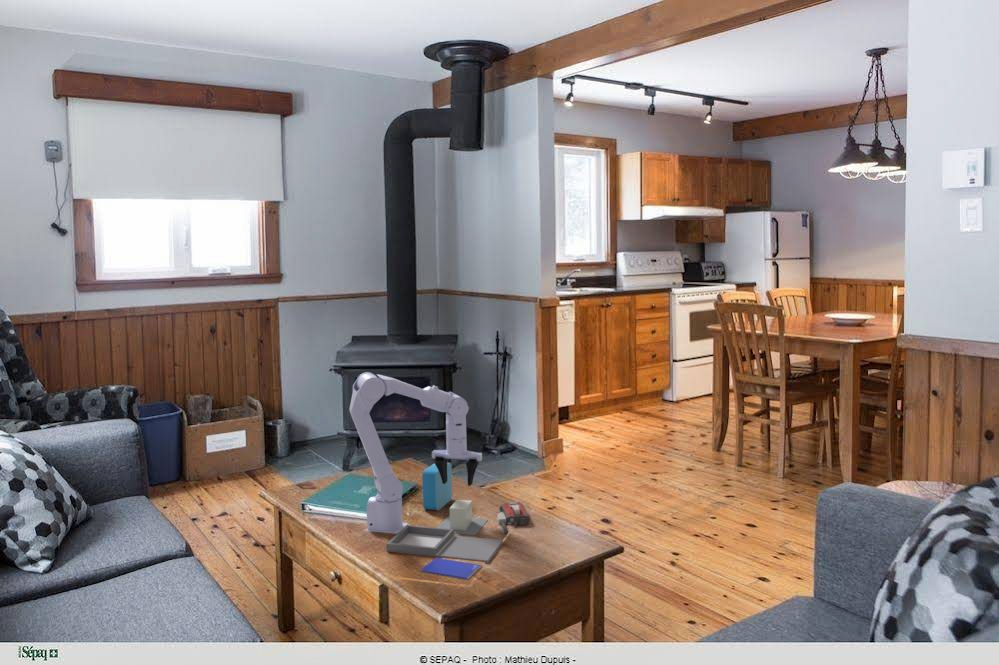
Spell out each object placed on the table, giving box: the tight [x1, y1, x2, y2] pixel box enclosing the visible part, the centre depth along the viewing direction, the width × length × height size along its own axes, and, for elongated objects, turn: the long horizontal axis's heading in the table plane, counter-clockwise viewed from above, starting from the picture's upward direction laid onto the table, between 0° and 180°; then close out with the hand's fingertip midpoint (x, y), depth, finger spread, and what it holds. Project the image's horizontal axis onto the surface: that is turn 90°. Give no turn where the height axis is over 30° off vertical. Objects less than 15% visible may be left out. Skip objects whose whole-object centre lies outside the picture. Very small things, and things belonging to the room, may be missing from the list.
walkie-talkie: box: [496, 501, 530, 535], centre depth 223 cm, size 9×4×20 cm
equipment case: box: [385, 524, 504, 564], centre depth 206 cm, size 27×14×2 cm, turn 74°
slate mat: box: [436, 515, 489, 536], centre depth 220 cm, size 12×12×1 cm
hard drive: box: [420, 557, 482, 581], centre depth 192 cm, size 2×8×12 cm
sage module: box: [449, 499, 473, 530], centre depth 220 cm, size 4×7×6 cm, turn 167°
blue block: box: [421, 462, 453, 511], centre depth 238 cm, size 12×4×12 cm, turn 161°
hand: (457, 483), depth 226 cm, fingers open, 7 cm apart
